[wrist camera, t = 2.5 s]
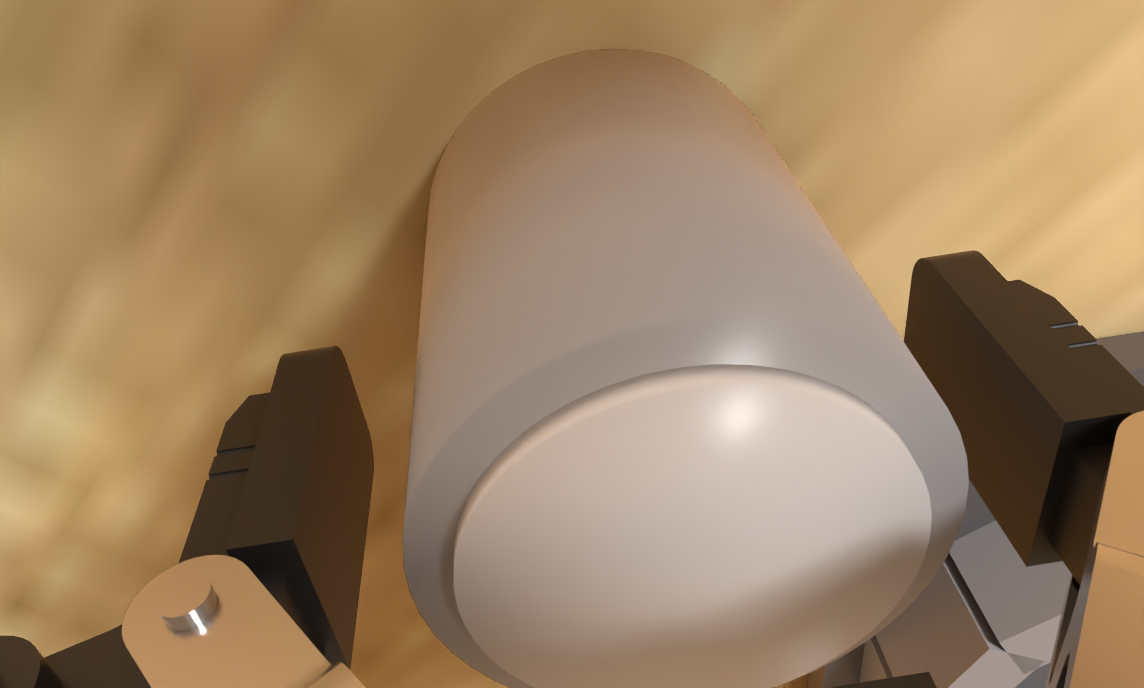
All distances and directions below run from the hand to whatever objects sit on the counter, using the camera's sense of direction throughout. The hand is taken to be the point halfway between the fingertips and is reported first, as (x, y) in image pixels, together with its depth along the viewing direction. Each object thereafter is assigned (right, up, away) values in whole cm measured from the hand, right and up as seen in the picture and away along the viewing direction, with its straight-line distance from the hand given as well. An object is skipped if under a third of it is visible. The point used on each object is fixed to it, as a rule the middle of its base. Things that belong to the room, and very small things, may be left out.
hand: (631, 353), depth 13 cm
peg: (0, +2, +2) cm, 3 cm away
